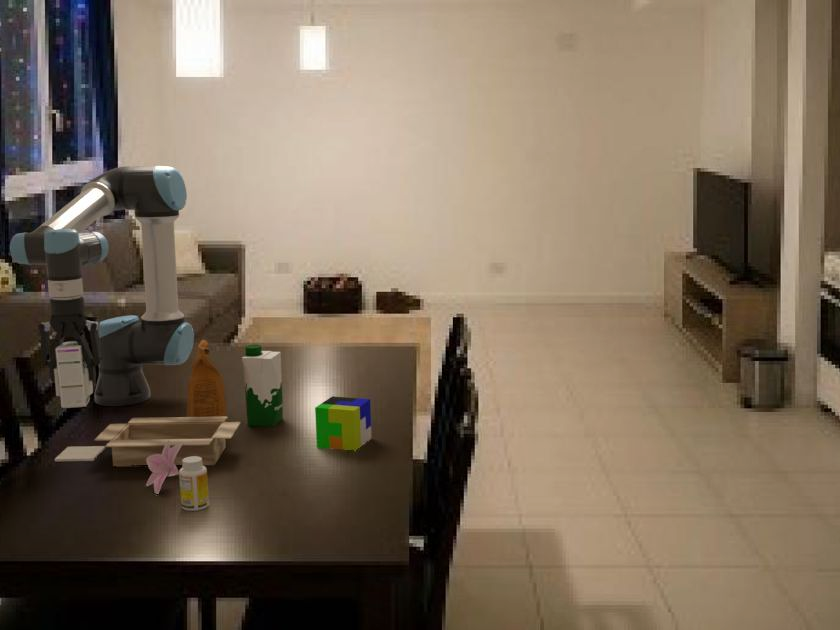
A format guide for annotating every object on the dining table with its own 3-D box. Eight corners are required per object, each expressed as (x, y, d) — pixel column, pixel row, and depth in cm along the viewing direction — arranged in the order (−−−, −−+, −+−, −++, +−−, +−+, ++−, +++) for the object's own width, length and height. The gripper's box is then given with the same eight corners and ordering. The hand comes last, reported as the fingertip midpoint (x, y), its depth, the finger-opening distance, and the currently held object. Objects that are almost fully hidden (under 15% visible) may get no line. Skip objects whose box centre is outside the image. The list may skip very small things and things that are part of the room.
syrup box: (86, 406, 246) (81, 345, 243) (60, 408, 245) (55, 347, 242) (90, 400, 251) (85, 340, 249) (64, 401, 251) (59, 341, 248)
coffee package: (228, 419, 277) (223, 337, 272) (227, 433, 265) (222, 347, 260) (189, 422, 275) (183, 339, 271) (187, 436, 263) (181, 350, 259)
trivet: (68, 449, 255) (67, 446, 255) (105, 448, 255) (105, 446, 255) (54, 461, 247) (54, 459, 246) (93, 460, 246) (93, 458, 246)
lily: (150, 480, 236) (130, 450, 231) (199, 457, 237) (179, 426, 231) (154, 514, 226) (133, 484, 221) (205, 490, 227) (185, 459, 221)
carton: (118, 442, 259) (116, 418, 258) (245, 441, 259) (244, 416, 257) (90, 472, 238) (87, 446, 237) (228, 470, 238) (226, 443, 236)
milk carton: (254, 416, 279) (250, 342, 275) (287, 417, 277) (283, 343, 273) (242, 426, 270) (238, 350, 266) (276, 428, 268) (272, 351, 264)
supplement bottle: (209, 500, 220) (206, 453, 218) (209, 510, 215) (206, 462, 213) (181, 503, 219) (178, 455, 217) (180, 513, 214) (177, 464, 212)
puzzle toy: (371, 438, 258) (370, 399, 256) (355, 451, 249) (354, 410, 247) (333, 435, 262) (332, 396, 260) (316, 448, 252) (315, 407, 250)
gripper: (18, 300, 240) (27, 399, 244) (103, 299, 240) (110, 397, 244) (31, 294, 247) (39, 390, 252) (113, 293, 247) (120, 389, 251)
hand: (74, 394), depth 248 cm, fingers closed on syrup box, 6 cm apart
